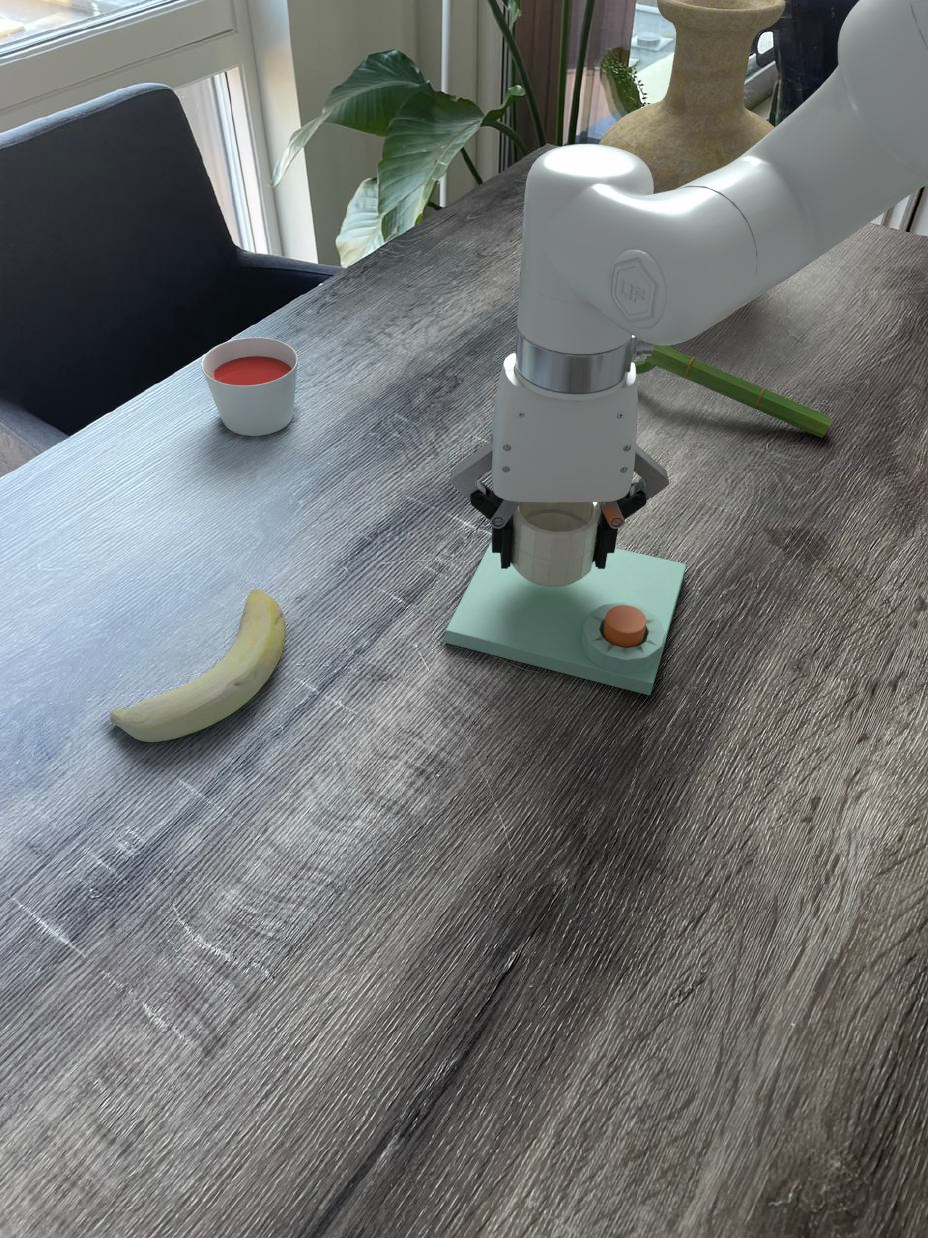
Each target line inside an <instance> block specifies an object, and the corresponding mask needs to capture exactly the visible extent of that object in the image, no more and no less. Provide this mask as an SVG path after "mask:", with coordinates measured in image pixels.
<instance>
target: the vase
mask: <svg viewBox="0 0 928 1238" xmlns="http://www.w3.org/2000/svg"><path fill="white" fill-rule="evenodd" d="M656 4H657V9H658V12H659V14H660V16H662V17H663V18H664V19H665V20H666V21H667V22H669V23H671V24H672V26H673V27H674V29H675V45H674V51H673V59H672V64H671V65H672V66H671V70H670V71H671V72H670V77H669V82H668V87H667V91H666V94H665V95H664V97H663V98H662V99H661V100H660V101H657V102H654V103H650V104H647V105H644V106H642V107H639V108H637V109H635V110H633V111H631V112H630V113H627V114H625V115H624V116H623V117H621V118H620V119H619V120H618V121H615V123H613V124H612V125H611V126H610V127H608V129H607V130H606V131H605V132H604V134H603V135H602V137H601V139H600V140H599V142H598V143H597V145H605V146H610V147H615V148H618V149H622V150H625V151H627V152H630V153H632V154H634V155H636V156H637V157H639V158H640V159H641V160H642V161H643V162H644V163H645V164H646V165H647V166H648V168H649V170H650V172H651V175H652V178H653V184H654V192H653V194H657V193H662V192H666V191H671V190H675V189H677V188H679V187H681V186H683V185H685V184H687V183H690V182H692V181H694V180H696V179H698V178H700V177H702V176H704V175H706V174H709V173H711V172H714V171H716V170H718V169H720V168H722V167H725V166H727V165H728V164H730V163H731V162H733V161H734V160H736V159H737V158H739V157H740V156H741V155H743V154H744V153H745V152H747V151H748V150H749V149H750V148H752V147H753V146H754V145H755V144H756V143H758V142H759V141H760V140H761V139H762V138H764V137H765V136H766V135H767V134H768V133H770V132H771V131H772V130H773V129H774V128H775V127H776V126H773V125H772V124H771V123H770V122H769V121H768V120H766V119H765V118H763V117H762V116H760V115H758V114H757V113H755V112H754V111H751V110H749V109H747V108H746V106H745V104H744V102H745V101H744V91H745V83H746V76H747V71H748V66H749V61H750V56H751V50H752V46H753V43H754V40H755V38H756V36H757V35H758V34H759V32H761V31H762V30H765V29H768V28H770V27H773V25H775V24H776V23H777V22H778V21H779V20H780V19H781V17H782V16H783V13H784V11H785V9H786V0H656Z"/></svg>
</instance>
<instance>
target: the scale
mask: <svg viewBox="0 0 928 1238" xmlns="http://www.w3.org/2000/svg"><path fill="white" fill-rule="evenodd" d="M686 570H687V563H683V562H678V561H674V560H670V559H665V558H661V557H657V556H651V555H648V554H643V553H639V552H634V551H629V550H626V549H620V548H618V547H617V548H616V547H615V552H614V553H608V554H607V560H606V567H605V569H598V567H595V561H594V564H593V566H592V569H591V571H590V572H589V573H588V574H587V575H586V576H584V577H583V578H582V579H581V580H578V581H576V582H575V583H573V584H570V585H567V586H562V587H546V586H541V585H537V584H535V583H532V582H530V581H528V580H527V579H525V578H524V577H523V576H521V575H520V574H519V573H518V572H517V571H516V569H515V568H514V567H513V566H512V564H511V567H508V569H501V558H500V553H492V540H491V541H490V542H489V545H488V547H487V549H486V551H485V552H484V555H483V556H482V558H481V561H480V562H479V564H478V566H477V568H476V570H475V572H474V574H473V576H472V577H471V580H470V582H469V584H468V586H467V588H466V590H465V592H464V593H463V596H462V598H461V599H460V602H459V603H458V606H457V607H456V609H455V611H454V613H453V615H452V617H451V619H450V621H449V623H448V625H447V626H446V629H445V643H446V644H449V645H452V646H456V647H461V648H464V649H469V650H472V651H476V652H479V653H484V654H488V655H491V656H495V657H499V658H503V659H507V660H511V661H515V662H518V663H522V664H526V665H530V666H535V667H538V668H542V669H546V670H549V671H554V672H557V673H560V674H566V675H568V676H572V677H577V678H581V679H584V680H588V681H592V682H595V683H599V684H603V685H608V686H612V687H614V688H615V687H616V688H619V689H623V690H626V691H630V692H634V693H639V694H642V695H645V696H651V695H652V691H653V687H654V683H655V680H656V677H657V673H658V669H659V666H660V663H661V659H662V655H663V652H664V648H665V645H666V641H667V638H668V634H669V631H670V627H671V623H672V620H673V616H674V613H675V609H676V606H677V602H678V599H679V596H680V592H681V588H682V586H683V581H684V578H685V574H686ZM620 605H627V606H632V607H635V608H637V609H639V610H640V611H641V612H642V613H643V614H644V615H645V617H646V620H647V623H646V628H645V633H644V638H643V640H642V642H641V643H640V644H638V645H636V646H634V647H630V648H623V647H619V646H615V645H613V644H611V643H610V642H609V641H608V640H607V639H606V638H605V636H604V632H603V630H604V624H605V617H606V614H607V612H608V611H609V610H610V609H611V608H613V607H615V606H620Z"/></svg>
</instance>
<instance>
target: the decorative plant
mask: <svg viewBox="0 0 928 1238" xmlns="http://www.w3.org/2000/svg"><path fill="white" fill-rule="evenodd" d="M634 364H635V367H636V375H641V374H644V373H648V372H650V371H652V370H653V369H654V368H656V367H659V368H661V369H663V370H664V371H667V372H670V373H672V374H674V375H676V376H679V377H681V378H683V379H684V380H688V381H690V382H692V383H694V384H696V385H700V386H702V387H704V388H706V389H708V390H711V391H713V392H716V393H718V394H719V395H722V396H725V397H727V398H729V399H732V400H734V401H735V402H738V403H741V404H742V405H745V406H747V407H749V408H752V409H754V410H756V411H759V412H760V413H763V414H765V415H768V416H770V417H773V418H775V419H777V420H780V421H782V422H784V423H786V424H789V425H790V426H793V427H795V428H798V429H800V430H802V431H804V432H807V433H809V434H810V435H813V436H816V437H818V438H820V439H824V437H825V436H826V434H827V432H828V430H829V429H830V427H831V425H832V422H833V420H834V418H833V417H831V416H828V415H826V414H824V413H822V412H819V411H817V410H815V409H813V408H810V407H808V406H806V405H803V404H801V403H799V402H796V401H794V400H793V399H789V398H787V397H785V396H783V395H780V394H778V393H775V392H773V391H771V390H768V389H767V387H765V386H764V387H761V386H760V385H757V384H755V383H753V382H750V381H748V380H745V379H743V378H741V377H739V376H736V375H734V374H731V373H729V372H727V371H724V370H722V369H720V368H717V367H715V366H713V365H711V364H708V363H706V362H704V361H702V360H699V359H698V358H696V356H690V355H688V354H685V353H683V352H681V351H679V350H676V349H675V348H671V347H670V346H668V345H656V344H654V348H653V353H652V356H645V359H644V360H640V361H634Z"/></svg>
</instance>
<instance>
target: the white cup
mask: <svg viewBox="0 0 928 1238" xmlns="http://www.w3.org/2000/svg"><path fill="white" fill-rule="evenodd" d="M600 519H601V509H600V505H599V503H598V502H521V503H520V505H519V506H518V507H517V509H516V510H515V512H514V513H513V515H512V526H513V536H512V552H511V564H512V566H513V567H514V568H515V569H516V571H517V572H518V573H519V574H520V575H521V576H523V577H524V578H525V579H527V580H528V581H530V582H532V583H535V584H537V585H541V586H546V587H562V586H567V585H570V584H573V583H575V582H576V581H578V580H581V579H582V578H583V577H584V576H586V575H587V574H588V573H589V572H590V571H591V569H592V566H593V564H594V561H595V554H596V547H597V540H598V533H599V526H600Z"/></svg>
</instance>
